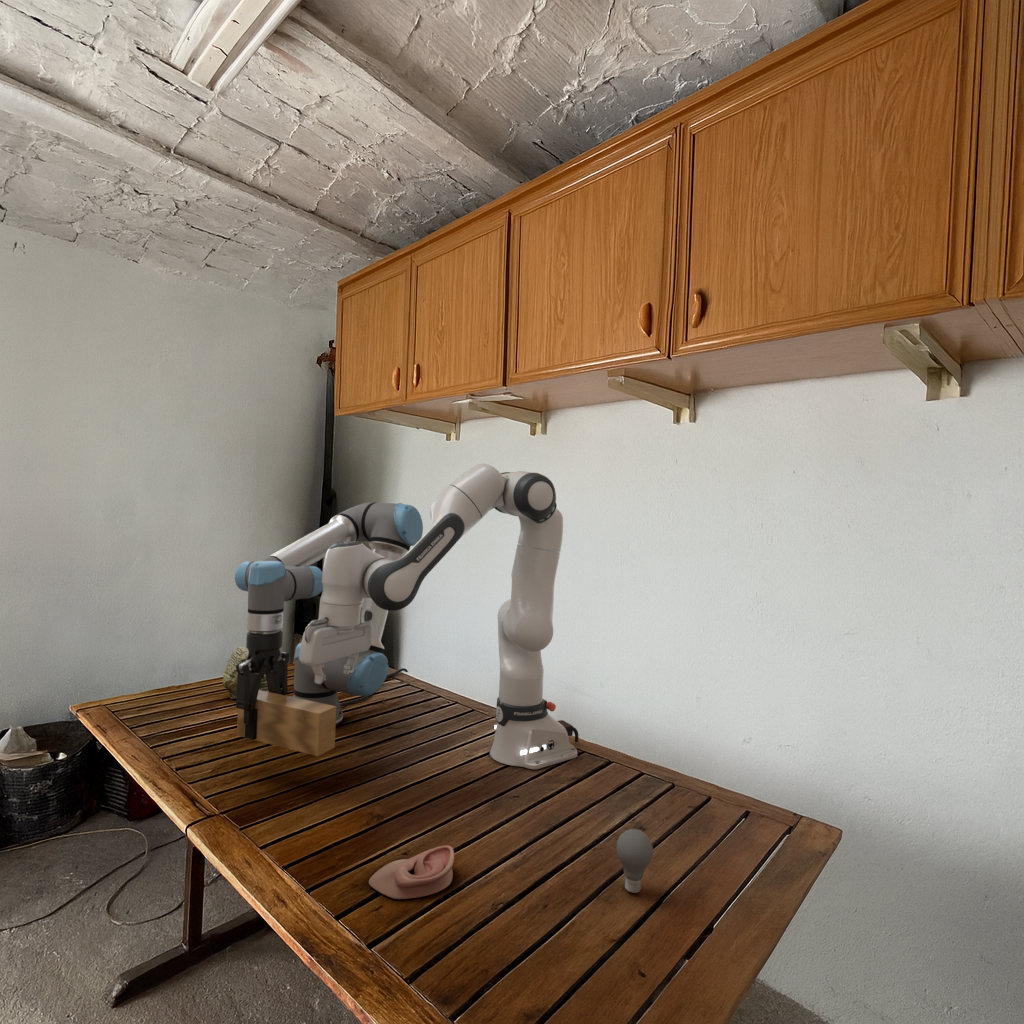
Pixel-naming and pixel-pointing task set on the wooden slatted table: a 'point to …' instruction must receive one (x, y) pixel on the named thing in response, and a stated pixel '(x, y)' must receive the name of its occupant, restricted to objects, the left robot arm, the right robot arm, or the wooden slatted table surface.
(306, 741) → the bar
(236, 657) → the fossil
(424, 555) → the right robot arm
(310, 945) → the wooden slatted table surface
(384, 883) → the anatomical model
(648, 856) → the light bulb
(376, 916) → the wooden slatted table surface
